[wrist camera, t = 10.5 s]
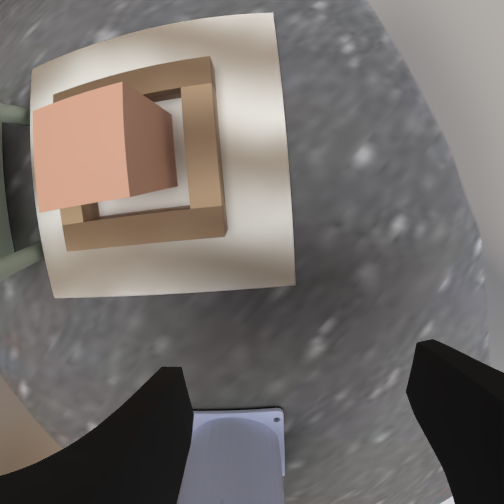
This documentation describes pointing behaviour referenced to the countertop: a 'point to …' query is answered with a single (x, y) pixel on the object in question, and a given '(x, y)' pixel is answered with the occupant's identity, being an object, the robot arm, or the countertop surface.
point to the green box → (3, 256)
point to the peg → (102, 148)
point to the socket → (182, 166)
